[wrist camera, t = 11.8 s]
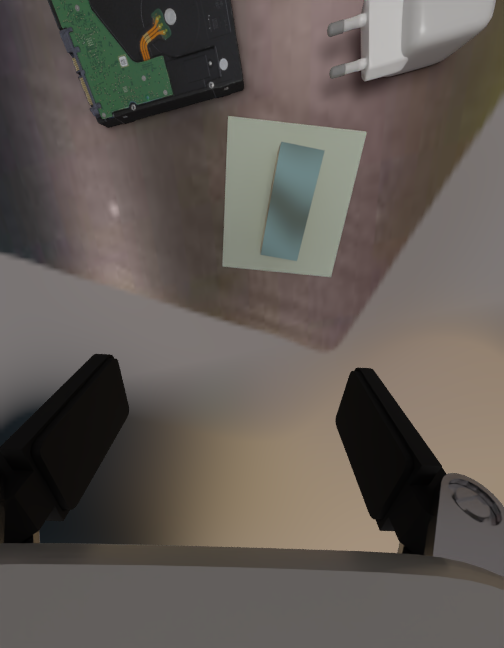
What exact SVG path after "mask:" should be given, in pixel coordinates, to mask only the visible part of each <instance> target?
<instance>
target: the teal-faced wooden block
mask: <svg viewBox="0 0 504 648" xmlns="http://www.w3.org/2000/svg"><path fill="white" fill-rule="evenodd" d="M324 152H325V150H320V149H315V148H310V147H305V146H301V145H296V144H291V143H286V142H281V143H280V146H279V149H278V152H277V157H276V163H275V169H274V174H273V180H272V185H271V191H270V197H269V202H268V208H267V214H266V219H265V225H264V230H263V236H262V242H261V247H260V252H261V255H265V256H270V257H276V258H282V259H287V260H293V261H297V259H298V255H299V251H300V247H301V243H302V239H303V235H304V231H305V227H306V223H307V219H308V215H309V211H310V207H311V203H312V199H313V195H314V191H315V187H316V183H317V179H318V175H319V171H320V167H321V163H322V159H323V156H324Z"/></svg>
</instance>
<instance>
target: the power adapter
mask: <svg viewBox="0 0 504 648" xmlns="http://www.w3.org/2000/svg"><path fill="white" fill-rule="evenodd" d="M495 2H496V0H364V3H363V8H362V12H361V14H359V15H357V16H355V17H352V18H348V19H345V20H340V21H337V22H334V23H331V24H330V25H329V26H328V29H327V34H328V36H329V37H332V36H335V35H338V34H342V33H343V32H346V31H349V30H353V29H358V28H361V59H358V60H357V61H353V62H350V63H347V64H341V65H338V66H335V67H332V68H331V70H330V73H329V75H330V78H332V79H333V78H337V77H340V76H344V75H345V74H349V73H352V72H358V71H361V78H362V79H363V80H364V82H365V81H369V80H373V79H376V78H380V77H383V76H384V77H390V76H394V75H398V74H402V73H405V72H409V71H412V70H416V69H419V68H423V67H426V66H430V65H433V64H436V63H439V62H440V61H442V60H444V59H445V58H447V57H448V56H450V55H451V54H453V53H454V52H455V51H457V50H458V49H459V48H461V47H462V46H463V45H464V44H466V43H467V42H468V41H470V40H471V39H472V38H473V37H475V36H476V35H477V34H478V33H480V32H481V31H482V30H483V29H484V28H485V27H486V26H487V24H488V22H489V21H490V19H491V17H492V15H493V11H494V7H495Z"/></svg>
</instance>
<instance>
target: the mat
mask: <svg viewBox="0 0 504 648" xmlns="http://www.w3.org/2000/svg"><path fill="white" fill-rule="evenodd" d="M366 133H367V132H365V131H356V130H347V129H338V128H330V127H321V126H312V125H303V124H294V123H286V122H277V121H268V120H259V119H250V118H242V117H233V116H228V133H227V160H226V186H225V212H224V238H223V265H222V266H223V267H233V268H243V269H253V270H263V271H274V272H284V273H294V274H304V275H314V276H324V277H331V275H332V271H333V267H334V263H335V259H336V255H337V250H338V246H339V242H340V238H341V234H342V230H343V226H344V222H345V218H346V214H347V210H348V206H349V202H350V198H351V194H352V190H353V186H354V182H355V178H356V174H357V170H358V166H359V162H360V158H361V154H362V150H363V145H364V141H365V137H366ZM281 142H286V143H291V144H296V145H301V146H305V147H310V148H315V149H320V150H325V152H324V156H323V159H322V163H321V167H320V171H319V175H318V179H317V183H316V187H315V191H314V195H313V199H312V203H311V207H310V211H309V215H308V219H307V223H306V227H305V231H304V235H303V239H302V243H301V247H300V251H299V255H298V259H297V261H293V260H287V259H282V258H276V257H270V256H265V255H261V252H260V247H261V242H262V236H263V230H264V225H265V219H266V214H267V208H268V202H269V197H270V191H271V185H272V180H273V174H274V169H275V163H276V157H277V152H278V149H279V146H280V143H281Z"/></svg>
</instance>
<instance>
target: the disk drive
mask: <svg viewBox="0 0 504 648" xmlns="http://www.w3.org/2000/svg"><path fill="white" fill-rule="evenodd" d="M48 2H49V5H50V8H51V10H52V13H53V15H54V18H55V21H56V23H57V26H58V28H59V30H60V35H61V38H62V40H63V43H64V45H65V48H66V50H67V52H68V53H70V55H71V56H72V62H73V65H74V67H75V69H76V73H78V74H79V77H78V78H79V80H80V82H81V85H82V87H83V90H84V92H85V95H86V98H87V100H88V103H89V105H90V106H91V107H92V108H90V111H91V112H92V114H93V115H94V116H95V117H96V119H97V121H98V123H99V124H101V125H104V126H106V127H112V126H116V125H120V124H123V123H125V124H126V123H129V122H133V121H135V120H137V119H141V118H145V117H148V116H152V115H155V114H160V113H163V112H167V111H170V110H174V109H177V108H181V107H185V106H188V105H191V104H195V103H199V102H202V101H206V100H210V99H213V98H219V97H223V96H226V95H230V94H231V93H235V92H238V91H242V90H243V89H244V83H243V74H242V68H241V62H240V56H239V50H238V44H237V38H236V31H235V25H234V18H233V13H232V7H231V1H230V0H48Z"/></svg>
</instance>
